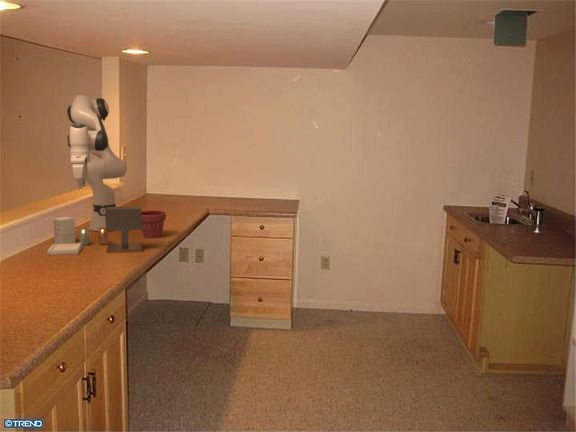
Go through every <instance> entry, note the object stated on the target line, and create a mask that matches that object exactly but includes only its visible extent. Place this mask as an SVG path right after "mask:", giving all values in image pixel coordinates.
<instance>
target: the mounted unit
mask: <svg viewBox="0 0 576 432" xmlns="http://www.w3.org/2000/svg"><path fill="white" fill-rule="evenodd" d="M142 210H143V207H142V206H141V205H138V206H137V205H134V206H133V205H132V206H129V205H127V206H116V207H106V209H105V218H106V231H108V232H112V231H113V232H114V231H116V232H117V231H120V236H121V238H120V239H121V243H109V244H108V245H107V248H106V254H108V253H109V254H115V253H139V252H140V253H141V251H142V252H143V250H142V249H144V243H143V242H129V231H142Z"/></svg>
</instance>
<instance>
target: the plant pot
mask: <svg viewBox="0 0 576 432" xmlns="http://www.w3.org/2000/svg"><path fill="white" fill-rule="evenodd" d="M166 219H167V216H166V211H163V210H143V211H142V230H141V232H142V235H143V238H145V239H158V238H161V237H162V233H163V230H164V223H165V221H166Z"/></svg>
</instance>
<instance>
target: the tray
mask: <svg viewBox="0 0 576 432" xmlns="http://www.w3.org/2000/svg"><path fill="white" fill-rule="evenodd" d="M82 249H83V246H82V243H80V242H78V243H77V242H76V243H71V244H56V243H53V244H52V245H51V246H50V247H49V248H48V249H47V256H64V255H65V256H66V255H78V254H80V252H81V250H82Z"/></svg>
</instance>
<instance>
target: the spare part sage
mask: <svg viewBox="0 0 576 432" xmlns="http://www.w3.org/2000/svg"><path fill="white" fill-rule="evenodd" d="M78 236H79V238H78V239H79V243H82V247H87V246H90V230H89V229H88V227H83V228H82V227H81V228H78Z"/></svg>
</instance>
